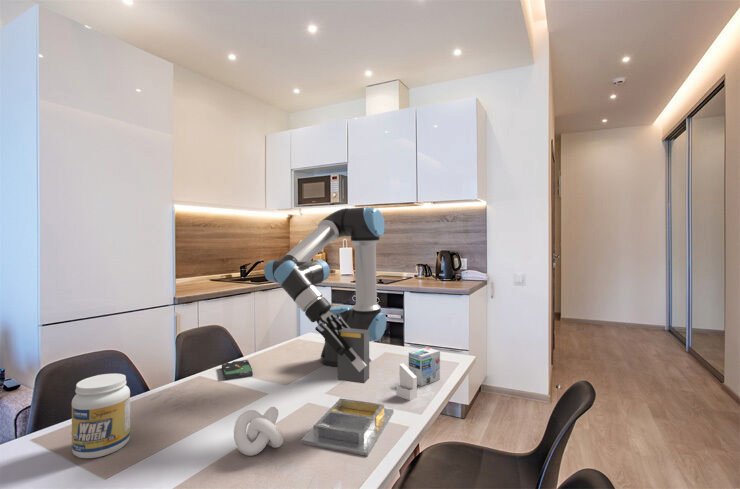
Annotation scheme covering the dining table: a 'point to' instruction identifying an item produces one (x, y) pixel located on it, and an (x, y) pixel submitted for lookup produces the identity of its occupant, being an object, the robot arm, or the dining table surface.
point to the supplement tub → (100, 415)
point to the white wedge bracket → (407, 384)
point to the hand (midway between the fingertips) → (366, 365)
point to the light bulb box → (425, 365)
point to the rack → (349, 427)
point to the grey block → (361, 346)
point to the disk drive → (236, 370)
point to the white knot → (257, 431)
